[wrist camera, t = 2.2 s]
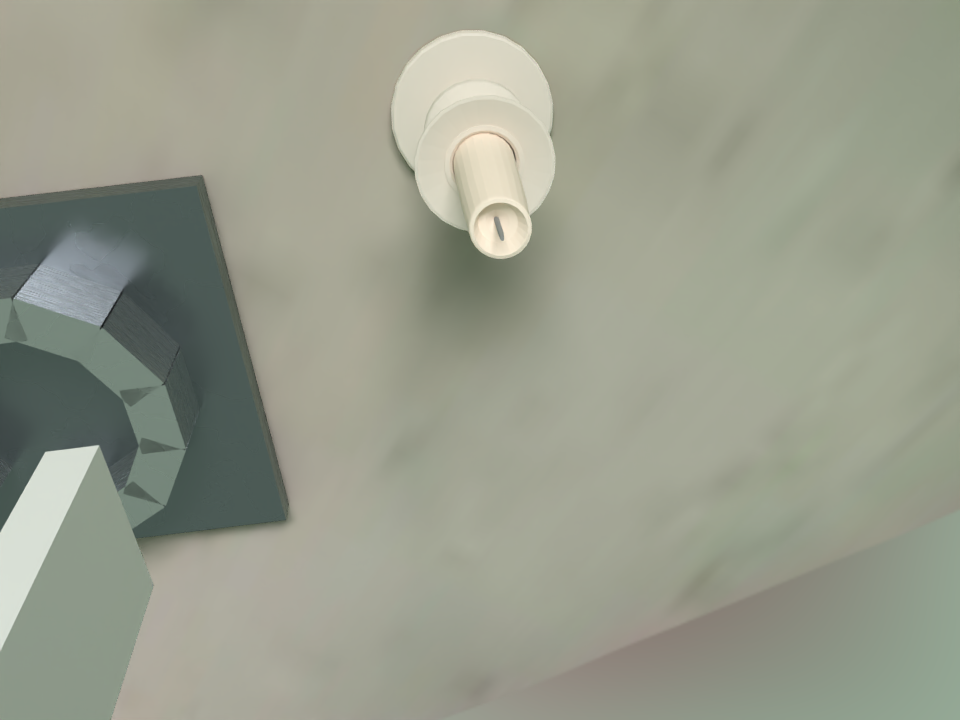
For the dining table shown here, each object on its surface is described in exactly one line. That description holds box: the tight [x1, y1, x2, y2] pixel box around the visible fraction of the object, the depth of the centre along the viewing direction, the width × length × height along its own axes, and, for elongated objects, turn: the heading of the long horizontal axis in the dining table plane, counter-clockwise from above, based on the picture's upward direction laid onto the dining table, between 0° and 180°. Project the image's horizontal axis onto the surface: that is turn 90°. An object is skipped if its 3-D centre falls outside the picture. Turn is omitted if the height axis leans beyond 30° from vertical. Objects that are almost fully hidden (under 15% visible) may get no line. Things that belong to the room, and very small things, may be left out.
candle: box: [391, 30, 555, 259], centre depth 25 cm, size 5×5×10 cm
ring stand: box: [0, 175, 289, 538], centre depth 32 cm, size 14×14×4 cm
